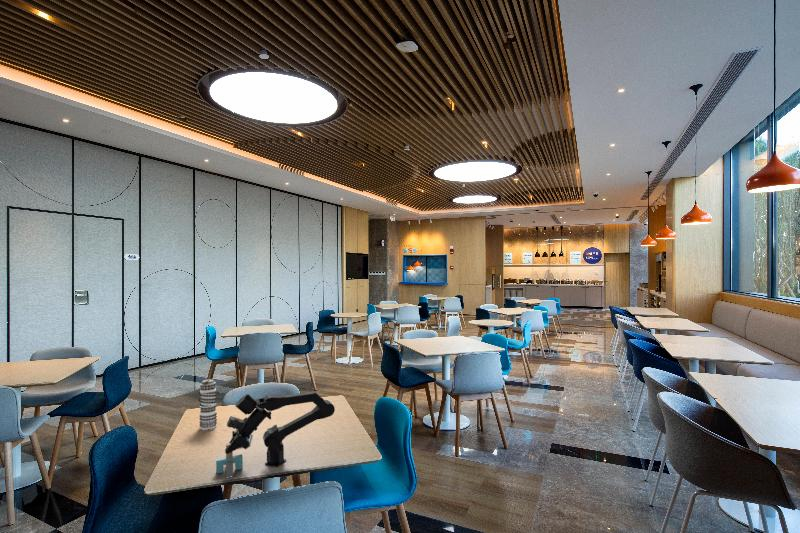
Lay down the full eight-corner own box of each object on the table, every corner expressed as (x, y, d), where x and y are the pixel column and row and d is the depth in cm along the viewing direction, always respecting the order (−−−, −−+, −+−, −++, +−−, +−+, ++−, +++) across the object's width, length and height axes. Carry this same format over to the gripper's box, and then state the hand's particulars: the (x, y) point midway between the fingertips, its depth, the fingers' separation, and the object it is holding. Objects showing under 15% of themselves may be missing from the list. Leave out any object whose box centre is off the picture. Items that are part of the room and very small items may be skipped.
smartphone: (233, 448, 197) (237, 435, 212) (233, 450, 197) (237, 437, 212) (250, 446, 199) (252, 434, 214) (250, 448, 199) (252, 436, 214)
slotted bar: (225, 466, 179) (225, 454, 179) (232, 464, 180) (232, 453, 180) (226, 478, 168) (226, 465, 168) (233, 476, 169) (233, 464, 169)
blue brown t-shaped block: (242, 466, 177) (242, 440, 178) (242, 468, 175) (242, 443, 175) (216, 471, 173) (216, 445, 174) (216, 473, 171) (216, 447, 171)
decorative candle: (201, 431, 221) (201, 383, 221) (196, 427, 228) (196, 380, 228) (219, 427, 227) (219, 380, 227) (214, 422, 234) (213, 377, 234)
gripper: (238, 403, 185) (210, 433, 180) (240, 416, 168) (209, 449, 163) (257, 418, 188) (230, 448, 183) (261, 432, 171) (232, 465, 166)
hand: (225, 452), depth 174 cm, fingers closed on blue brown t-shaped block, 2 cm apart
